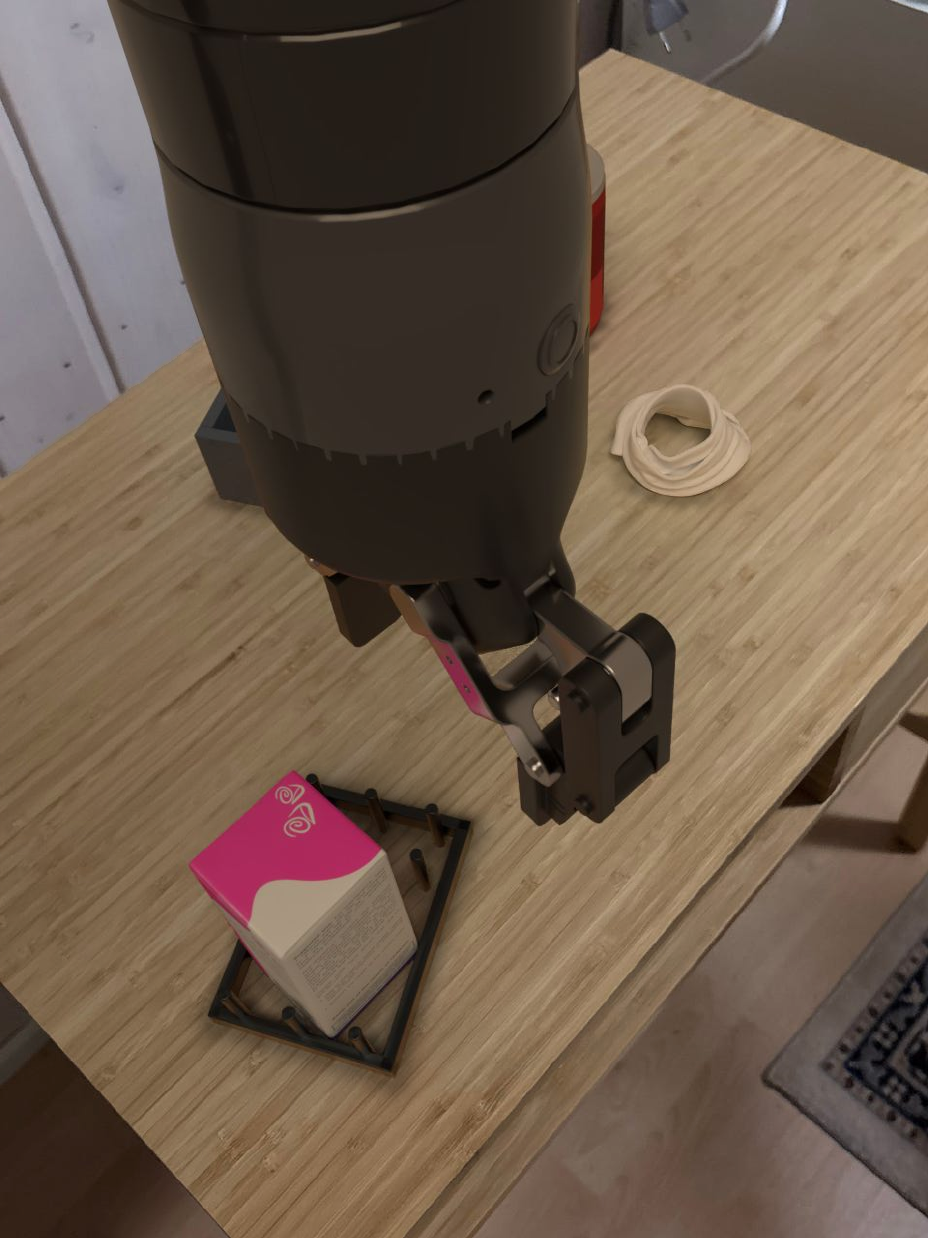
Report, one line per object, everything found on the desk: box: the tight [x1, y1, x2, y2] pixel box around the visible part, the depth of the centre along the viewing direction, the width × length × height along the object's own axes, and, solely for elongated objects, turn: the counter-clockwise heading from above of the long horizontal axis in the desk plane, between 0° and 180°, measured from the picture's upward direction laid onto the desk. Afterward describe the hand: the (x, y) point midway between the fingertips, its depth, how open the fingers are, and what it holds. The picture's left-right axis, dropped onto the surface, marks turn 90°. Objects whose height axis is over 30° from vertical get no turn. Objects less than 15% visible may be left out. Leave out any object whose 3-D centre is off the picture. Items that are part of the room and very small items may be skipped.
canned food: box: [586, 142, 607, 336], centre depth 71 cm, size 8×8×11 cm
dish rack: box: [207, 772, 474, 1079], centre depth 53 cm, size 12×9×4 cm
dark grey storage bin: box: [194, 387, 263, 507], centre depth 69 cm, size 11×11×6 cm
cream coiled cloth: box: [609, 383, 752, 497], centre depth 67 cm, size 8×7×5 cm
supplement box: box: [188, 769, 419, 1041], centre depth 49 cm, size 6×6×12 cm
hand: (461, 708), depth 36 cm, fingers open, 8 cm apart
